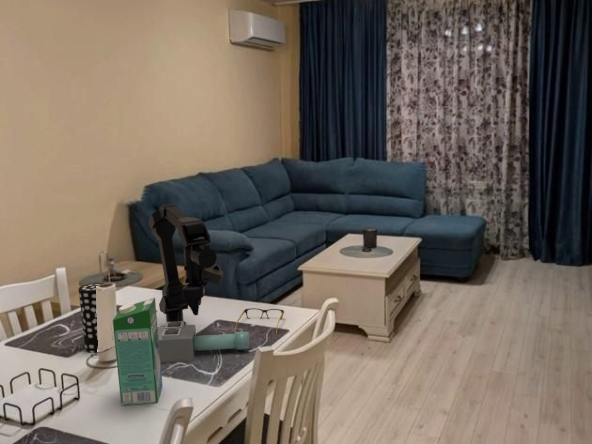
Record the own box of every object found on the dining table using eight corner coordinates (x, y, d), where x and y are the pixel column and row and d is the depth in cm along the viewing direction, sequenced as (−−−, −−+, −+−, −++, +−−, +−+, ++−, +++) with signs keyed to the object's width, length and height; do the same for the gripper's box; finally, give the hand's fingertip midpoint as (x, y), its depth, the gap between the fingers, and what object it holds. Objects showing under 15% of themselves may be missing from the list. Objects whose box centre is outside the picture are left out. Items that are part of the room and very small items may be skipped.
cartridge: (182, 355, 169) (180, 339, 168) (184, 348, 174) (183, 332, 173) (249, 351, 171) (248, 335, 170) (249, 344, 176) (248, 328, 175)
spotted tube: (104, 353, 174) (97, 291, 170) (79, 352, 176) (72, 290, 172) (117, 343, 182) (111, 283, 178) (94, 341, 184) (88, 282, 180)
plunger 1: (170, 326, 175) (169, 321, 175) (180, 325, 175) (180, 320, 175) (168, 330, 172) (168, 325, 171) (179, 329, 172) (178, 324, 172)
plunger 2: (167, 333, 169) (166, 328, 169) (178, 332, 169) (177, 328, 169) (165, 337, 166) (165, 332, 166) (176, 337, 166) (176, 332, 166)
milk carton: (128, 388, 151) (119, 299, 146) (162, 386, 152) (155, 297, 147) (121, 405, 142) (111, 311, 137) (157, 402, 143) (149, 308, 138)
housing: (158, 348, 177) (155, 322, 175) (196, 345, 178) (195, 320, 176) (151, 363, 166) (149, 336, 164) (193, 360, 167) (191, 333, 165)
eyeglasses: (285, 319, 199) (284, 308, 198) (276, 335, 185) (276, 324, 184) (245, 318, 201) (245, 307, 200) (234, 334, 187) (233, 322, 187)
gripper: (219, 268, 163) (222, 319, 166) (222, 252, 182) (225, 298, 185) (180, 270, 163) (183, 321, 166) (187, 254, 181) (190, 300, 184)
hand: (197, 310), depth 175 cm, fingers open, 9 cm apart
